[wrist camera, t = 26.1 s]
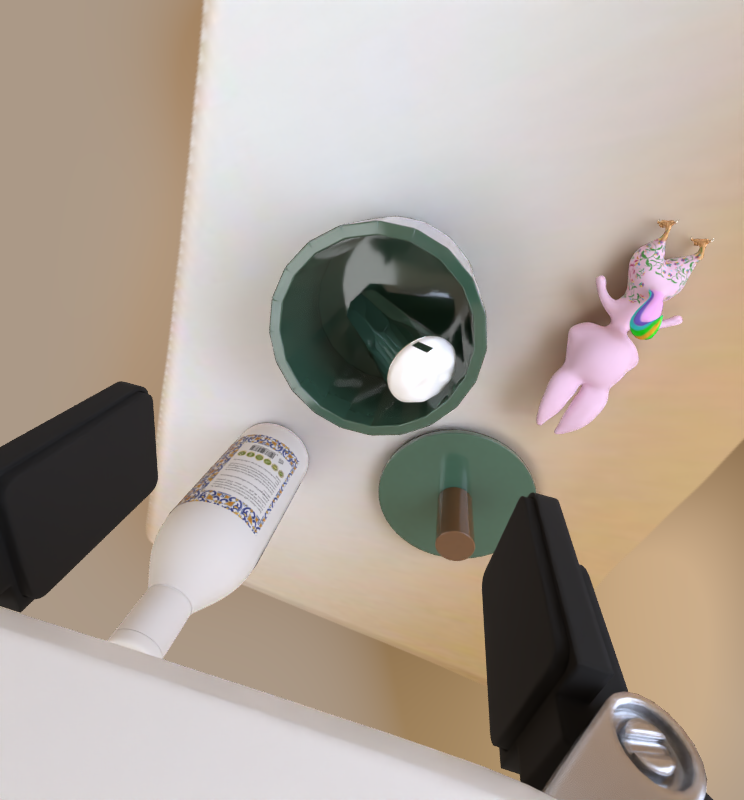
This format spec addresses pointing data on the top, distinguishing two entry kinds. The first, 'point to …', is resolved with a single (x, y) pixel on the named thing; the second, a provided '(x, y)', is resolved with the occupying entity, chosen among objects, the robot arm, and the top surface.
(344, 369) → the pot
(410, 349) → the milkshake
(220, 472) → the bath foam
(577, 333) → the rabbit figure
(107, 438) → the robot arm
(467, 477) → the pot lid
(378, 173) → the top surface
